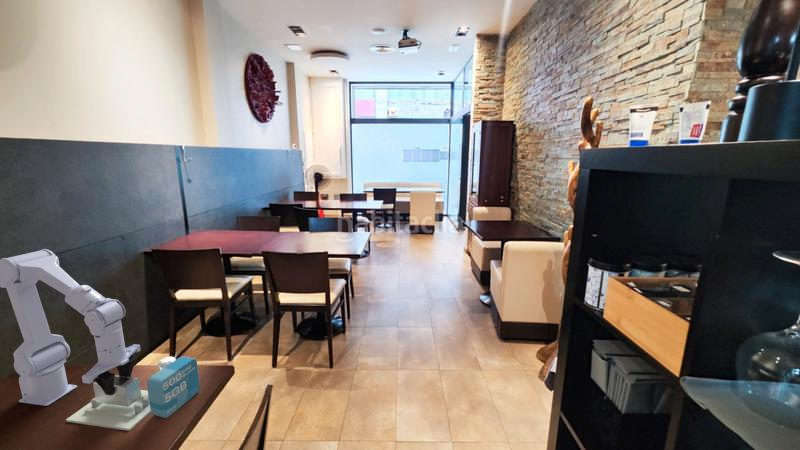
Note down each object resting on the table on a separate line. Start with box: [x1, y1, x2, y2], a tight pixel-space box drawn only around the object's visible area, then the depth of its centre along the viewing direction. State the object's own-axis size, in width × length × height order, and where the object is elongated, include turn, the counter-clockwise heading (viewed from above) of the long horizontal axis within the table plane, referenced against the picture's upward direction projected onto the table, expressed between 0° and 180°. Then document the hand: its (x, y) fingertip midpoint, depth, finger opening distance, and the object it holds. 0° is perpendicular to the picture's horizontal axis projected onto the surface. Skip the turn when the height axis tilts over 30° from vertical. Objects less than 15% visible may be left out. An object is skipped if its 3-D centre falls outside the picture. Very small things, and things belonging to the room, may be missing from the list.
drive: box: [92, 374, 142, 407], centre depth 91 cm, size 10×4×6 cm, turn 83°
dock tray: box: [65, 389, 151, 432], centre depth 91 cm, size 19×13×3 cm
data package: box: [146, 355, 201, 419], centre depth 93 cm, size 12×4×12 cm, turn 166°
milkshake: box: [157, 351, 178, 371], centre depth 101 cm, size 4×5×10 cm
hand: (117, 388), depth 90 cm, fingers closed on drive, 4 cm apart
